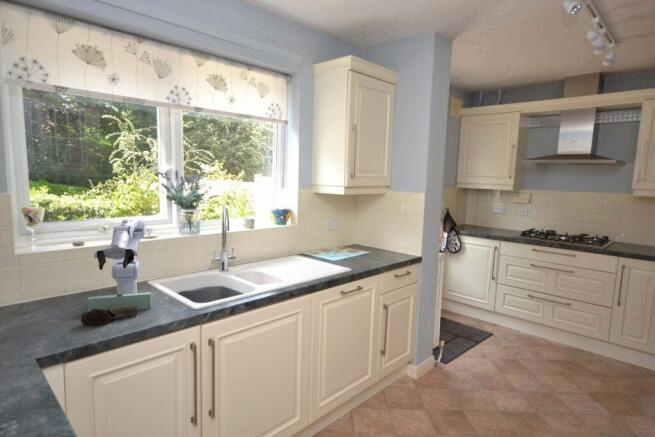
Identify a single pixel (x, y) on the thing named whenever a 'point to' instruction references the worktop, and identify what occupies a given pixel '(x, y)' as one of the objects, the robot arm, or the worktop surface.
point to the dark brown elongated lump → (107, 314)
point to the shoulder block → (120, 301)
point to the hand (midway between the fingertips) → (112, 266)
